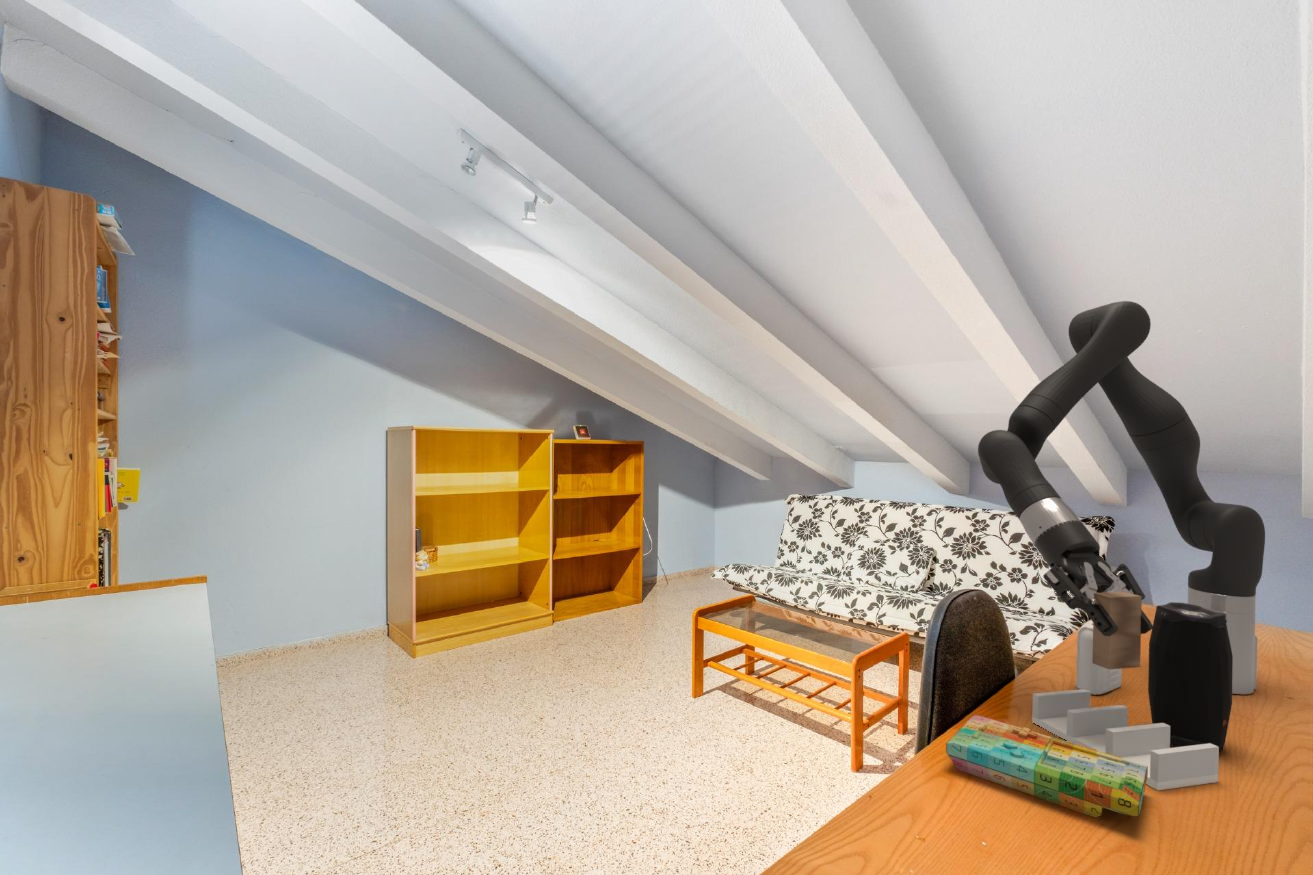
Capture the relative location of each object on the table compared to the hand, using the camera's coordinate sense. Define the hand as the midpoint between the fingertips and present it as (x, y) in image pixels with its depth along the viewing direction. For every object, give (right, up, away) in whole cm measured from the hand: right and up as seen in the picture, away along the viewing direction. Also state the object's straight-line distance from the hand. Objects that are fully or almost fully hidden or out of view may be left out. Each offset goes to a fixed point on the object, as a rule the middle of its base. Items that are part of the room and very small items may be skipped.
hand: (1129, 631), depth 87 cm
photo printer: (+13, -18, +24) cm, 33 cm away
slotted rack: (-1, -17, +1) cm, 17 cm away
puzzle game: (-17, -17, -8) cm, 25 cm away
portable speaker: (+12, -18, +4) cm, 21 cm away
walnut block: (-1, -5, +2) cm, 6 cm away
